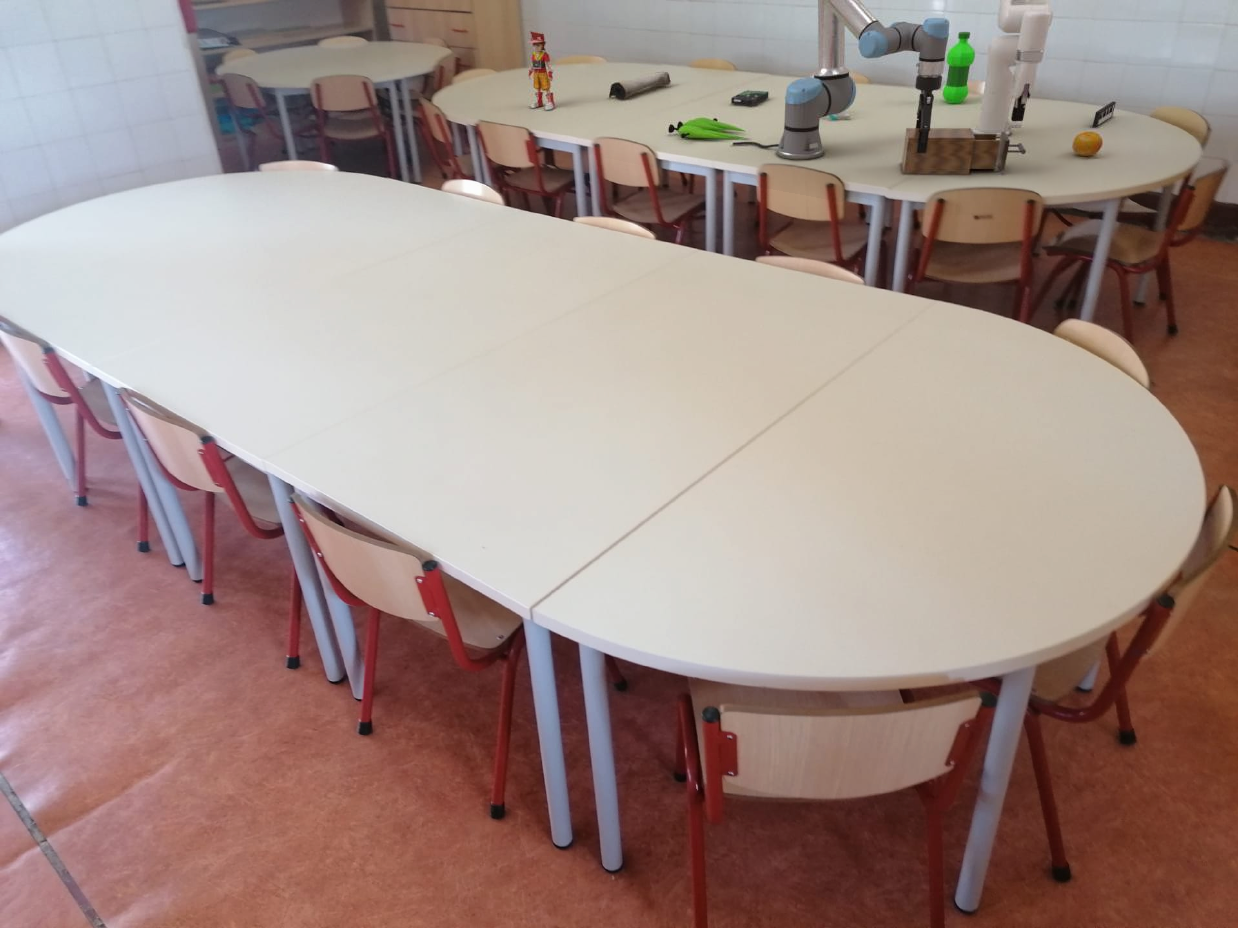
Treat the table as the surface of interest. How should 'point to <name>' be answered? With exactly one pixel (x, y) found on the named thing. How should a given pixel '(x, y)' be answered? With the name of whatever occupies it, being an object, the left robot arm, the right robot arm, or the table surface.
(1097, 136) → the fruit
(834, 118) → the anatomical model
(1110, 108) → the midi keyboard
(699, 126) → the toy
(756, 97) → the disk drive
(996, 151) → the drawer
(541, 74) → the toy
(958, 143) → the cabinet
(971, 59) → the plastic bottle
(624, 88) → the rolled mat
